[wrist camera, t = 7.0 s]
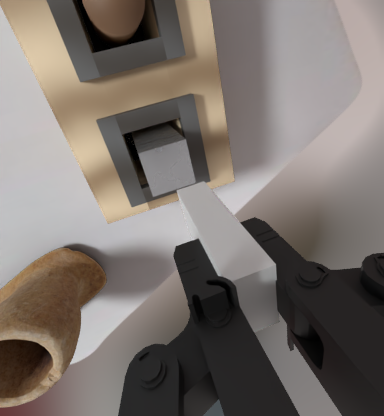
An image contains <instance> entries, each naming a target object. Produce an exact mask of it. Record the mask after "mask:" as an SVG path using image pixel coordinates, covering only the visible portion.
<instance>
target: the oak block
mask: <svg viewBox="0 0 384 416" xmlns="http://www.w3.org/2000/svg"><path fill="white" fill-rule="evenodd" d="M0 5H1V7H2V9H3V12H4V14H5V16H6V18H7V20H8V22H9V24H10V26H11V28H12V30H13V32H14V34H15V36H16V38H17V40H18V42H19V44H20V46H21V48H22V50H23V52H24V54H25V56H26V58H27V60H28V62H29V64H30V66H31V68H32V70H33V72H34V75H35V77H36V79H37V81H38V83H39V85H40V87H41V89H42V91H43V93H44V95H45V97H46V99H47V101H48V103H49V105H50V107H51V109H52V111H53V113H54V115H55V117H56V119H57V121H58V123H59V125H60V127H61V129H62V131H63V133H64V135H65V138H66V140H67V142H68V144H69V146H70V148H71V150H72V152H73V154H74V156H75V158H76V160H77V162H78V164H79V166H80V168H81V170H82V172H83V174H84V176H85V178H86V180H87V182H88V184H89V186H90V188H91V190H92V192H93V194H94V196H95V198H96V200H97V203H98V205H99V207H100V209H101V211H102V213H103V215H104V217H105V219H106V221H107V223H108V224H109V223H112V222H115V221H118V220H121V219H124V218H127V217H130V216H133V215H136V214H139V213H142V212H145V211H148V210H151V209H154V208H157V207H160V206H163V205H166V204H169V203H171V202H174V201H177V200H179V197H178V194H177V190H179V189H182V188H185V187H188V186H191V185H194V184H197V183H200V182H203V181H204V182H205V183H206V184H207V185H208V186H209V187H210V189H213V188H216V187H219V186H222V185H225V184H228V183H231V182H234V181H235V180H234V173H233V166H232V159H231V152H230V145H229V137H228V130H227V123H226V116H225V109H224V102H223V94H222V87H221V80H220V73H219V66H218V59H217V51H216V44H215V37H214V30H213V23H212V16H211V8H210V1H209V0H145V10H144V14H143V17H142V20H141V26H142V30H143V33H144V37H145V41H141V42H137V43H133V44H129V45H125V46H121V47H117V48H112V49H108V50H104V51H100V52H95V50H94V47H93V44H92V41H91V39H90V36H89V33H88V30H87V27H86V25H85V22H84V19H83V16H82V14H81V11H80V8H79V5H78V2H77V0H0ZM163 122H167V124H169V125H170V126H171V127H172V128H173V129H174V130H176V131H177V132H178V133H179V134H180V135H181V136H183V137H184V138H185V139H186V142H187V146H188V151H189V155H190V159H191V164H192V168H193V172H194V177H195V181H196V183H194V184H191V185H188V186H185V187H182V188H179V189H176V190H173V191H170V192H167V193H164V194H161V195H157V196H154V197H153V195H152V192H151V189H150V187H149V184H148V181H147V178H146V175H145V172H144V169H143V166H142V163H141V161H140V160H137V161H135V160H134V158H133V155H132V152H131V149H130V147H129V144H128V141H127V138H126V136H125V133H129V132H132V131H136V130H139V129H142V128H146V127H149V126H153V125H156V124H160V123H163Z"/></svg>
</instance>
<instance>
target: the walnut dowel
mask: <svg viewBox="0 0 384 416" xmlns="http://www.w3.org/2000/svg"><path fill="white" fill-rule="evenodd" d="M82 2H83V5H84V7H85V9H86V12H87V14H88V17H89V19H90V21H91V24H92V26H93V29H94V31H95V33H96V35H97V36H98V38H99V39H100V40H101V41H102V42H103V43H105V44H106V45H108V46H110V47H113V48H117V47H121V46H125V45H128V44H129V43H130V42H131V40H132V39H133V37H134V35H135V32H136V30H137V28H138V26H139V24H140V22H141V20H142V17H143V14H144V10H145V0H82Z"/></svg>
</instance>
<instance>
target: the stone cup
mask: <svg viewBox="0 0 384 416" xmlns="http://www.w3.org/2000/svg"><path fill="white" fill-rule="evenodd" d="M106 280H107V279H106V274H105V272H104V270H103V269H102V267H101V266H100V265H99V264H98V263H97V262H96V261H95V260H93V259H92V258H90V257H89V256H88V255H86V254H84V253H82V252H79V251H72V250H70V249H69V248H59V249H56V250H53V251H51V252H49V253H47V254H45V255H44V256H42V257H40V258H39V259H37V260H35V261H34V262H33V263H31V264H30V265H29V266H27V267H26V268H25V269H24V270H23V271H21V272H20V273H19V274H18V275H17V276H15V277H14V278H13V279H12V280H11V281H10V282H9V283H7V284H6V285H5V286H4V287H3V288H2V289H1V290H0V407H11V406H16V405H20V404H24V403H27V402H29V401H32V400H34V399H36V398H37V397H39V396H41V395H42V394H44V393H45V392H47V391H48V390H49V389H50V388H51V387H52V386H53V385H54V384H56V383H57V382H58V380H59V379H60V378H61V377H62V375H63V374H64V372H65V371H66V369H67V367H68V366H69V364H70V362H71V360H72V358H73V355H74V353H75V349H76V346H77V342H78V338H79V334H80V327H81V310H80V307H82V306H83V305H84V304H85V303H87V302H88V301H89V300H90V299H91V298H93V297H94V296H95V295H96V294H97V293H98V292H99V291H100V290H101V289H102V288H103V287H104V285H105V284H106Z"/></svg>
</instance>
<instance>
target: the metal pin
mask: <svg viewBox="0 0 384 416" xmlns="http://www.w3.org/2000/svg"><path fill="white" fill-rule="evenodd" d="M131 133H132V136H133V139H134V142H135V145H136V149H137V152H138V155H139V158H140V161H141V163H142V166H143V169H144V172H145V175H146V178H147V181H148V184H149V187H150V189H151V192H152V195H153V197H154V196H157V195H161V194H164V193H167V192H170V191H173V190H176V189H179V188H182V187H185V186H188V185H191V184H194V183H196V181H195V177H194V172H193V168H192V164H191V159H190V155H189V151H188V146H187V142H186V139H185V138H184V137H183V136H181V135H180V134H179V133H178V132H177V131H176V130H174V129H173V128H172V127H171V126H170V125H169V124H167V123H166V122H163V123H160V124H156V125H153V126H149V127H146V128H142V129H139V130H136V131H132V132H131Z"/></svg>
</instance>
